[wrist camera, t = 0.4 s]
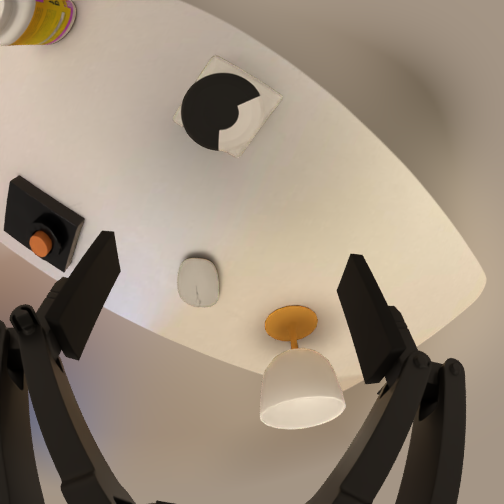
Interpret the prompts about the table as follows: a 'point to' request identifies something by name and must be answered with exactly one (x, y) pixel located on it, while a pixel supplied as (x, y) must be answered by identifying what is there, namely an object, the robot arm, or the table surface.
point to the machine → (42, 221)
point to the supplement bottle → (35, 21)
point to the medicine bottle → (226, 107)
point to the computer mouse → (198, 282)
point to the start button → (40, 244)
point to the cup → (298, 376)
